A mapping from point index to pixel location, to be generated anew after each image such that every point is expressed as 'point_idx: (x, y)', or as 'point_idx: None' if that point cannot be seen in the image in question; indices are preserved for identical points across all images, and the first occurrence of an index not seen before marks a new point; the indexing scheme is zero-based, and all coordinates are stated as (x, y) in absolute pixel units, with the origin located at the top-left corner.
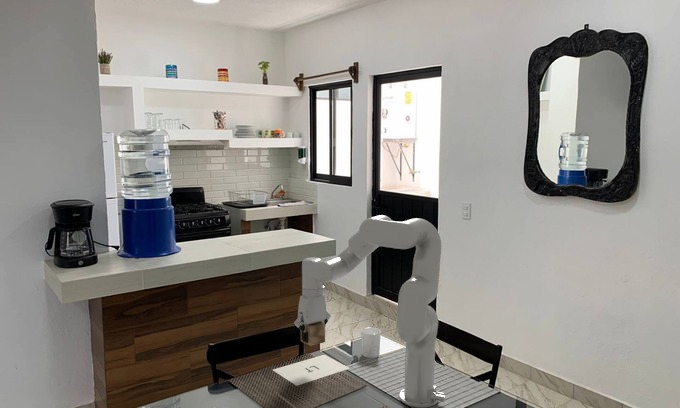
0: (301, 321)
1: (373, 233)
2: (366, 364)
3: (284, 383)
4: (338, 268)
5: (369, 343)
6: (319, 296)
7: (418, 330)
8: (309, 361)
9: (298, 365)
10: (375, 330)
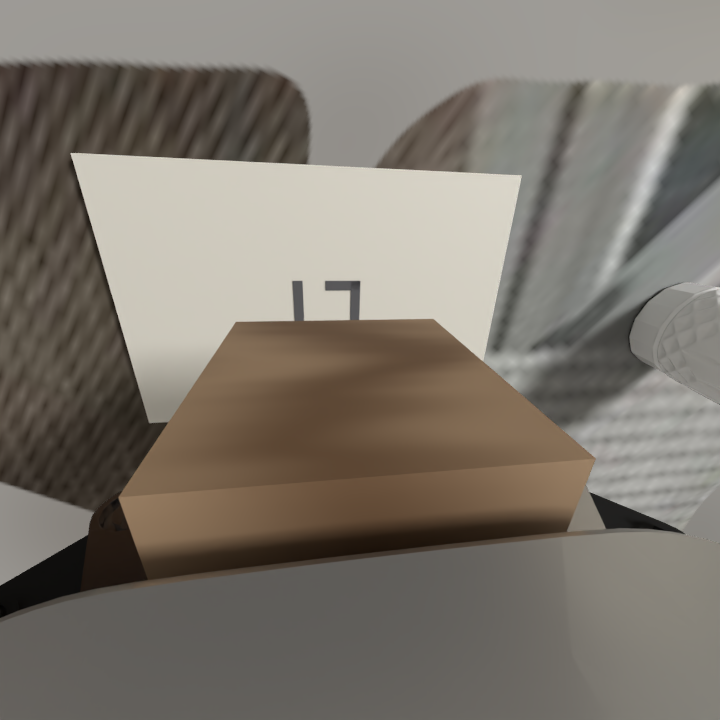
0: (94, 591)
1: None
2: (561, 393)
3: (106, 353)
4: None
5: (704, 390)
6: None
7: None
8: (377, 208)
9: (282, 215)
10: None
